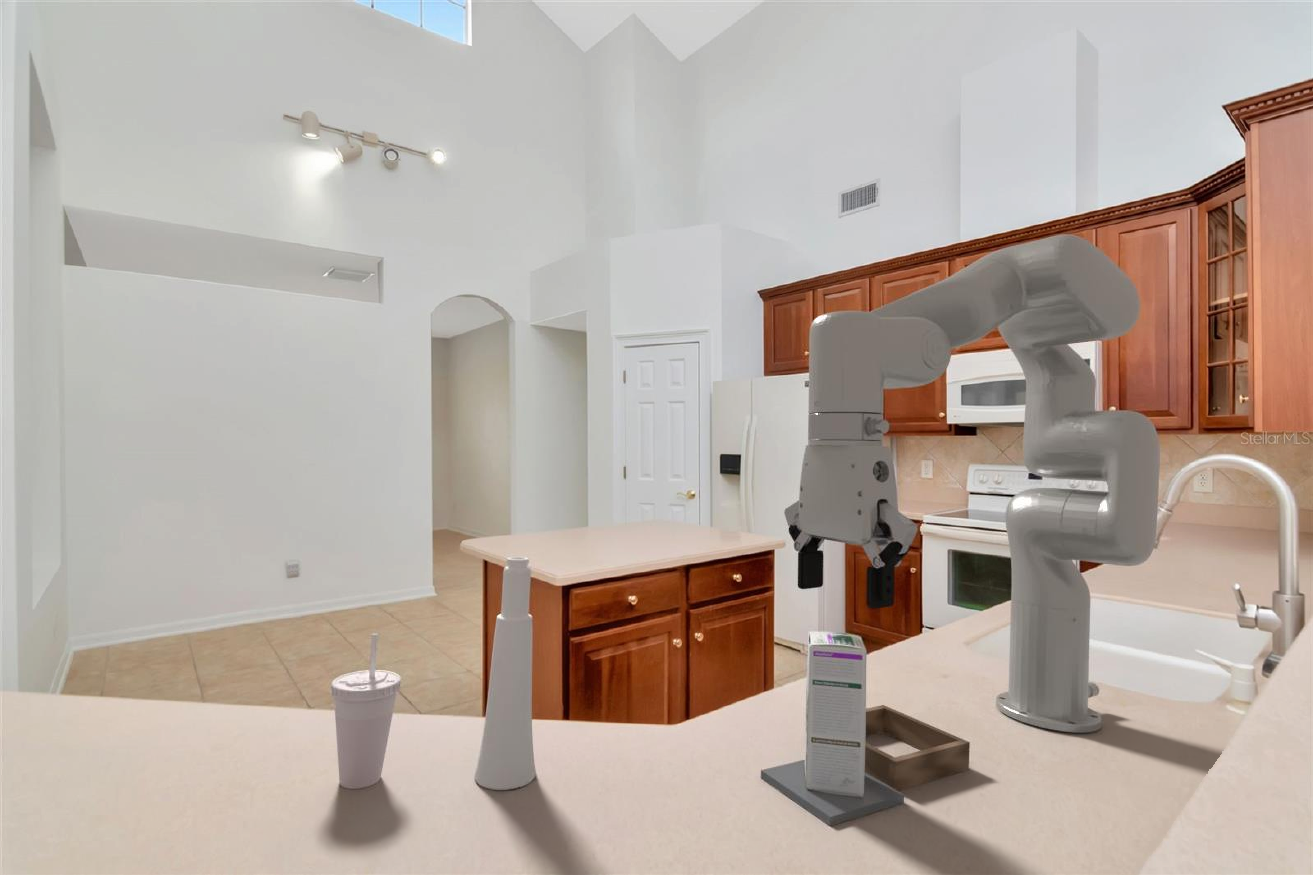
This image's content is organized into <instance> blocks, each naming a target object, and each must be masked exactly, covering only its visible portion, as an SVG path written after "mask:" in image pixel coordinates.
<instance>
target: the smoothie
mask: <svg viewBox="0 0 1313 875" xmlns="http://www.w3.org/2000/svg"><path fill="white" fill-rule="evenodd" d="M378 635H379V634H378V633H372V634H371V641H370V655H369V657H370V658H369V670H367V669H365V670H358V671H353V672H348V673H345V674H341V675H339V676H337V677H336V678H335V679H333V680H332V681H331V688H330V692H329V694H330V696H331V697H333V702H334V714H335V715H334V716H335V732H336V733H335V734H336V750H337V763H338V765H337V766H338V775H339V776H338V779H339V780H338V782H339V785H340V786H341V787H343V788H345V789H350V790H358V789H363V788H368V787H371V786H374V785H375V784H377V783H378V782H379V781H380V780H381V779H382V778H381V776H382V773H383V772H382V771H383V767H384V762H385V758H386V753H387V746H388V740H389V735H390V731H391V730H390V729H391V724H392V718H393V713H394V710H395V704H396V700H397V699H396V698H397V693H398V692H399V691H400V690H401V688H402V684H401V680H402V677H401V675H400V674H398V673H396V672H394V671H390V670H383V669H382V670H381V669H376V666H377V651H378Z"/></svg>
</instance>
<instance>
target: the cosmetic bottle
mask: <svg viewBox="0 0 1313 875" xmlns="http://www.w3.org/2000/svg"><path fill="white" fill-rule="evenodd" d="M506 563H507V566H505V567H504V568H503V572H502V573H503V574H502V575H503V576H502V588H501V589H502V591H501V592H502V593H501V608H500V614H498V615H497V616H496V620H495V627H494V629H495V630H494V636H493V645H492V651H491V652H492V653H491V654H492V655H491V663H490V672H489V673H490V674H489V683H488V691H487V702H486V709H485V710H486V711H485V718H484V726H483V731H482V732H483V733H482V738H481V744H480V750H479V755H478V759H477V763H476V766H475V772H474V780H475V782H476V783H477V784H478V785H479V786H480V787H483V788H485V789H488V790H493V791H509V790H510V789H511V790H515V788H516V789H519V788H518V787H520V788H522V787H524V786H526V785H528V784H530V783H531V782H532V781H533V780H534V779H535V777H536V772H537V771H536V765H535V755H534V754H535V753H534V742H533V708H532V707H533V702H532V701H533V698H532V696H533V640H534V639H533V615H532V614H530V613H529V612H530V599H531V598H530V595H531V593H530V592H531V581H532V580H531V578H532V577H531V576H532V570H531V568H530V567H529V566H528V564H529V563H530V558H529V557H526V556H509V557H506Z"/></svg>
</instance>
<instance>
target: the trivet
mask: <svg viewBox="0 0 1313 875" xmlns="http://www.w3.org/2000/svg"><path fill="white" fill-rule="evenodd" d="M760 779H762V780H763V781H764V782H766V783H768V784H769V785H770V786H772V787H773V788H775V790H777V791H778V792H780V793H782V794H783V795H784V796H786V797H787V798H789V799H791V801H793V802H794V803H796V804H798V805H799V806H800V807H802V808H803V809H805V810H806V811H808V812H809V813H811V814H812V815H813V816H815V817H816V818H818V819H820V820H821V821H822V822H823V823H825V824H827V825H828V826H829V827H830V826H835V825H837V824H841V823H844V822H846V821H850V820H853V819H856V818H859V817H863V816H867V815H869V814H872V813H875V812H878V811H882V810H885V809H889V808H892V807H895V806H898V805H901V804H905V794H904V793H903V792H902V791H901V792H900V790H899V791H897V790H895V789H894V788H892V787H890V786H888V785H886V784H885V783H883V782H881V781H879V780H877V779H876V778H874V777H872V776H870V775H869V774H867V773H865V774H864V795H863V797H856V796H848V795H840V794H832V793H826V792H820V791H815V790H810V789H807V788H806V778H805V759H801V760H798V761H794V762H789V763H786V764H781V765H777V766H772V767H768V768H765V769H761V770H760Z"/></svg>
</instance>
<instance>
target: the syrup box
mask: <svg viewBox="0 0 1313 875" xmlns="http://www.w3.org/2000/svg"><path fill="white" fill-rule="evenodd" d="M807 634H808V636H807V637H808V639H807V659H806V660H807V662H806V665H807V666H806V692H805V693H806V696H805V732H804V733H805V736H804V737H805V738H804V740H805V741H804V742H805V743H804V744H805V745H804V746H805V747H804V760H805V778H806V788H807V789H810V790H815V791H820V792H826V793H832V794H840V795H848V796H856V797H863V795H864V774H865V743H866V737H867V736H866V708H867V660H868V659H867V657H868V656H867V655H868V652H867V648H866V645H865V643H864V641H863V639H862V636H861V635H856V634H854V633H853V634H852V633H845V632H838V631H813V630H809V632H808V633H807Z"/></svg>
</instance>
